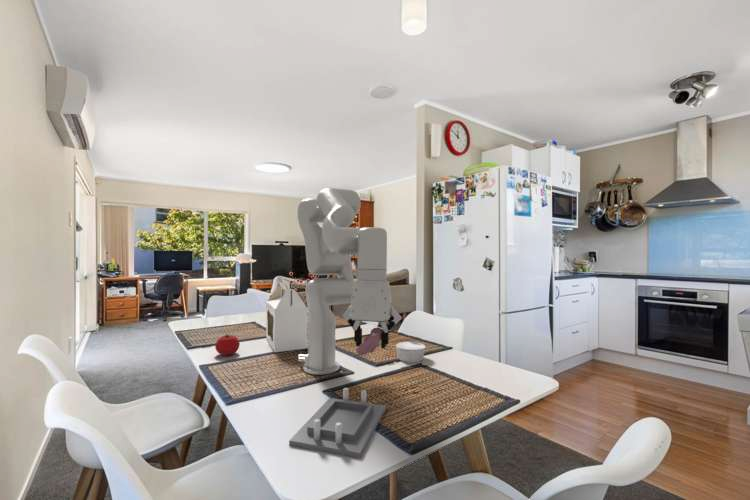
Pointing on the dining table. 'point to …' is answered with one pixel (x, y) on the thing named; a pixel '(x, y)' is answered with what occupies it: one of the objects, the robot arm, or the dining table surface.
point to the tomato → (227, 345)
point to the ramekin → (410, 351)
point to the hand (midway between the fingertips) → (371, 345)
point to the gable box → (286, 319)
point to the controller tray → (340, 426)
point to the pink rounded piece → (370, 342)
